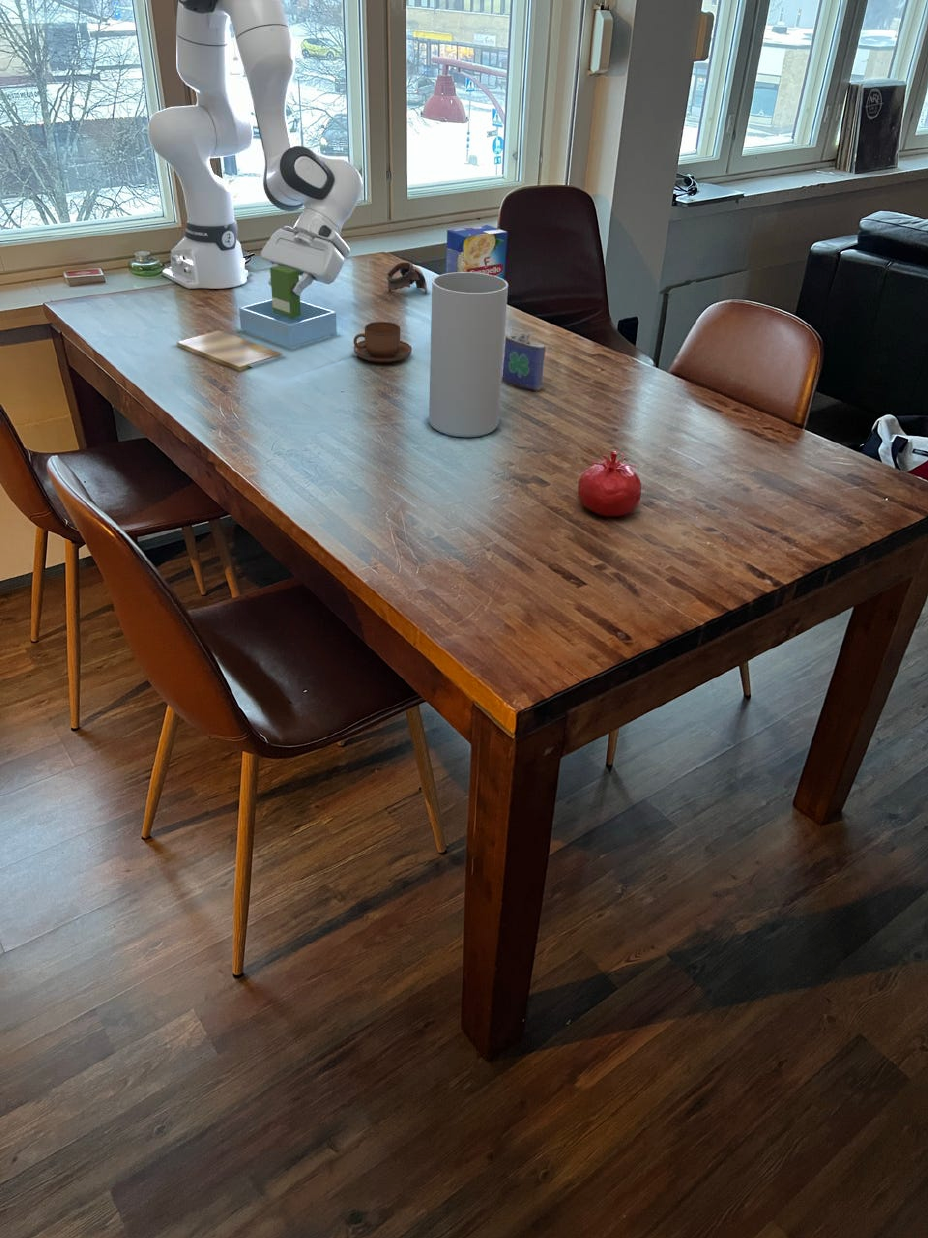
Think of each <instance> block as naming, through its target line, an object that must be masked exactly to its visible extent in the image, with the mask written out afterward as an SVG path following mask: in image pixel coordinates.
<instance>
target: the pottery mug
mask: <svg viewBox="0 0 928 1238" xmlns="http://www.w3.org/2000/svg"><path fill="white" fill-rule="evenodd" d="M398 272H400V274H401V276H399V277H397V278H392V277H394V275H395V274H396V273H398ZM386 280H387V290H388V292H389V293H391V292H392V290H393V291H397V290H400V289H403V288H409V289H410V288H411V285H413V284H414V283H415V286H416V289H422V290H424V294H425V295H428V292H429V290H428V283H427V281H426V277H425V275H424V273H423V272H422V270H421V269H420V268H419V267H417V266H415V265H414V264H413V263H412V262H411V261H408V260H407V261H402V262H399V263H397V264H395V265H394V266H393V267H391V268H390V269H389V270H388V272H387V277H386Z"/></svg>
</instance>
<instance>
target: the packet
mask: <svg viewBox="0 0 928 1238" xmlns="http://www.w3.org/2000/svg"><path fill="white" fill-rule="evenodd" d="M269 273H270V275H269V276H270V278H271V286H270V287H271V299H272V303H273V313H276V314H279V315H282V316H285V317H288V318H290V319H291V318H294V317H298V316H301V309H300V301H301V294H300V295H299V296H298V295H295V294H293V293H292V292H291V287H292V286H293V284H294V283H295V284H297V283H298V282H299V281H300V276H299V272H298V270H295V269H292V268H288V267H285V266H282V265H279V266H274V267H271V266H269Z"/></svg>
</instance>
